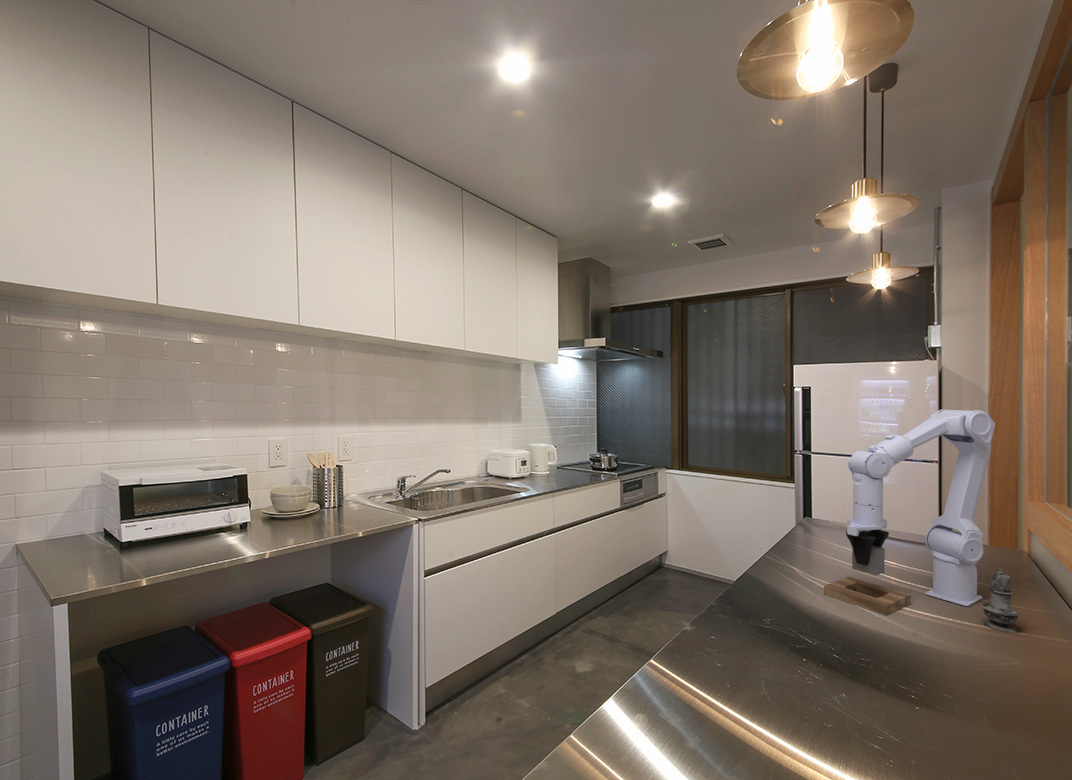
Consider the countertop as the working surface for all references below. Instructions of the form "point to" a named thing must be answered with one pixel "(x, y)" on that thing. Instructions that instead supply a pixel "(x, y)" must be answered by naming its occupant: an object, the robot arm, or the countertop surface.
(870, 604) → the socket frame
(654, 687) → the countertop surface
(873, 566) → the plug
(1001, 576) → the weathered stone finial
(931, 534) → the robot arm
